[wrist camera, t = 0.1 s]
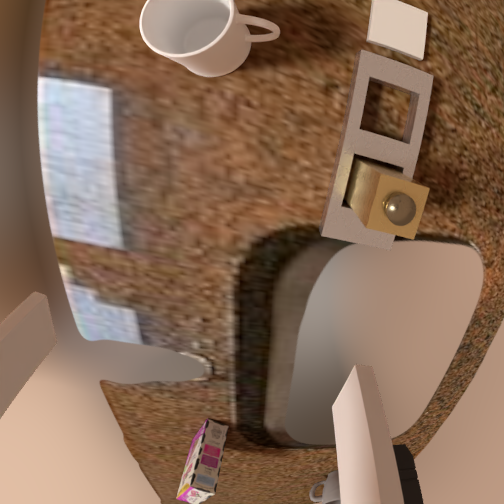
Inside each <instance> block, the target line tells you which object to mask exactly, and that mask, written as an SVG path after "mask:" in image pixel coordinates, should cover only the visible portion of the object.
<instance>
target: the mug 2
mask: <svg viewBox="0 0 504 504" xmlns="http://www.w3.org/2000/svg"><path fill="white" fill-rule="evenodd" d="M322 484H325V485H324V489H323V495H321V496H315V495H314V494H315V490H316V488H317V487H318V486H319V485H322ZM310 499H311V500H312V501H314V502H320V501H322V504H341V498H340V484H339V471H338V470H337V471H333V472H331V473H329V474H328V478H327V480H326V481H320V482H317V483H315V484H314V485H313V487H312V488H311V490H310Z"/></svg>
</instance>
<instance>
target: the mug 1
mask: <svg viewBox="0 0 504 504" xmlns="http://www.w3.org/2000/svg"><path fill="white" fill-rule="evenodd" d="M245 24H249V25H255V26H260V27H263V28H266V29H269V30H271V31H273V33H270V34H264V35H250V32H249V30H248V28H247V26H246V25H245ZM140 32H141V35H142V37H143V39H144V41H145V43H146V44H147V45H148V46H149V47H150V48H151V49H152V50H154V51H155V52H157V53H159V54H161V55H163V56H165V57H167V58H169V59H172V60H174V61H176V62H178V63H180V64H182V65H184V66H186V67H187V68H188V69H189V70H190V71H192V72H193V73H195V74H198V75H201V76H205V77H218V76H222V75H226V74H228V73H230V72H232V71H234V70H235V69H237V68H238V67H239V66H240V65H241V64H242V63H243V62H244V61H245V59H246V58H247V56H248V54H249V52H250V48H251V42H265V41H271V40H274V39H277V38H278V37H279V35H280V29H279V27H278V26H277V25H276V24H274V23H273V22H270V21H268V20H265V19H262V18H258V17H254V16H248V15H242V14H239V11H238V9H237V7H236V4H235V2H234V0H147V2H146V4H145V5H144V7H143V10H142V12H141V16H140Z"/></svg>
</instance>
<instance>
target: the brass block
mask: <svg viewBox="0 0 504 504" xmlns="http://www.w3.org/2000/svg"><path fill="white" fill-rule="evenodd" d="M429 189H430V188H428V187H426V186H425V185H423V184H421V183H419V182H417V181H416V180H414V179H412V178H410V177H408V176H406V175H404V174H402V173H400V172H399V171H397V170H395V169H393V168H390V167H387V166H384V165H380V164H377V163H373V162H369V161H366V160H362V159H358V158H354V157H353V160H352V165H351V169H350V173H349V177H348V181H347V185H346V190H345V194H344V199H345V200H346V201H347V203H348V204H349V205H350V207H351V208H352V209H353V211H354V212H355V214H356V215H357V216H358V218H359V219H360V220H361V222H362V223H363V225H364V226H365V227H366V228H368V229H372V230H376V231H381V232H385V233H389V234H393V235H397V236H401V237H406V238H410V239H414V237H415V234H416V231H417V228H418V225H419V222H420V219H421V216H422V213H423V210H424V206H425V203H426V200H427V196H428V193H429Z"/></svg>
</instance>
